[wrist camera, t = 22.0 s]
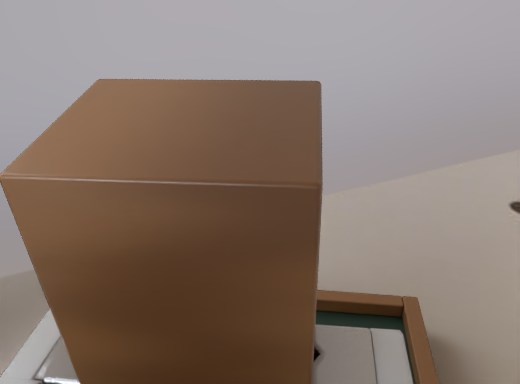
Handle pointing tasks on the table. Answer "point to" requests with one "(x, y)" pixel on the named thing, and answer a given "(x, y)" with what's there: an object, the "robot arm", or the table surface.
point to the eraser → (179, 229)
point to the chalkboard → (382, 323)
